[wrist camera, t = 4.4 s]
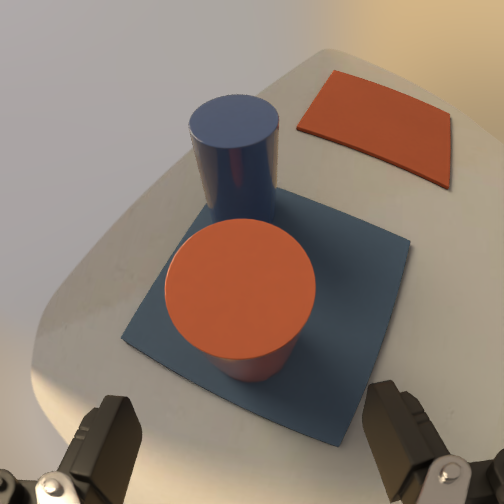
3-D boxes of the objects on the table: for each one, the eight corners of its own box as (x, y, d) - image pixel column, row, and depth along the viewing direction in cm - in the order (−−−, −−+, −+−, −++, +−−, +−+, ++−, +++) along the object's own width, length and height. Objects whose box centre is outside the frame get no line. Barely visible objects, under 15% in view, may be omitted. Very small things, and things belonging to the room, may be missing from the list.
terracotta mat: (296, 129, 29) (296, 126, 29) (333, 72, 35) (334, 69, 34) (447, 189, 25) (449, 187, 25) (448, 116, 31) (449, 114, 31)
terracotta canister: (195, 359, 19) (137, 314, 10) (233, 291, 21) (210, 200, 12) (269, 396, 18) (276, 387, 9) (304, 323, 20) (337, 250, 11)
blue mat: (122, 339, 20) (120, 337, 20) (229, 173, 27) (229, 170, 26) (337, 446, 16) (338, 447, 16) (408, 243, 23) (410, 240, 22)
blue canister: (198, 224, 24) (170, 135, 16) (229, 178, 26) (217, 88, 18) (258, 249, 23) (254, 159, 15) (285, 198, 25) (292, 105, 17)
